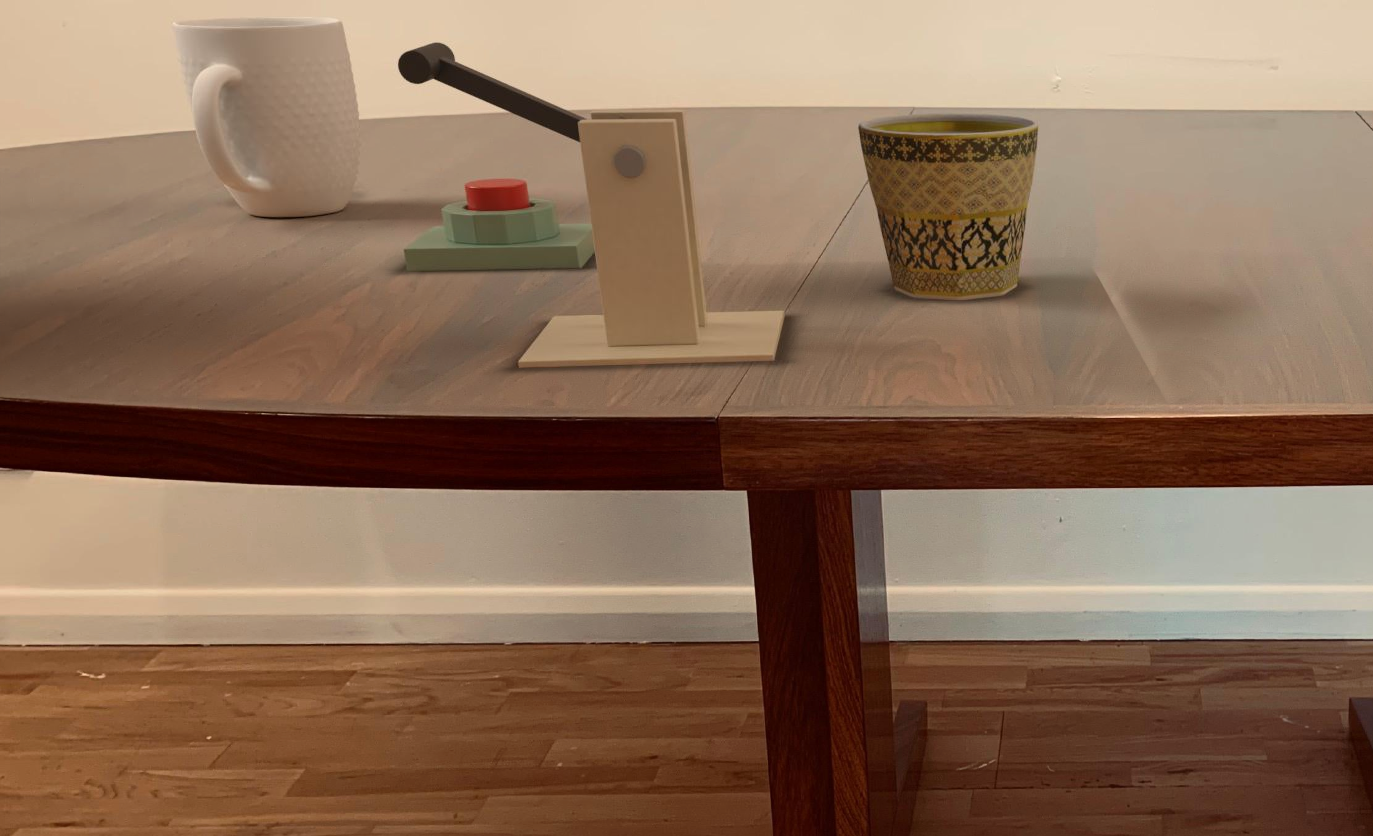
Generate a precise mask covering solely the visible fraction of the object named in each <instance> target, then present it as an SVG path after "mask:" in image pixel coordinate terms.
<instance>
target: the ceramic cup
mask: <svg viewBox="0 0 1373 836" xmlns="http://www.w3.org/2000/svg"><path fill="white" fill-rule="evenodd" d="M1038 132H1039V124H1038V123H1037V122H1036V121H1034V120H1032V119H1028V118H1024V117H1020V116H1011V115H1002V114H990V113H989V114H988V113H956V112H955V113H951V112H950V113H947V112H945V113H916V114H915V113H914V114H899V115H890V116H883V117H882V116H881V117H876V118H871V119H867V120H864V121H862V122H860V123H859V124H858V135H859V141H860V147H861V153H862V158H863V162H864V167H865V172H866V175H867V181H868V184H869V188H870V192H871V195H872V198H873V201H874V205H875V209H876V214H877V218H878V224H879V228H880V232H881V236H882V241H883V245H884V249H885V255H886V257H887V261H888V266H889V271H890V276H891V281H892V284H893V288H894V290H895V291H897V292H900V293H902V294H904V295H907V296H909V297H911V298H914V299H927V300H929V299H930V300H945V301H946V300H947V301H964V300H965V301H967V300H973V299H982V298H991V297H999V296H1004V295H1005V294H1007V293H1009V292H1010V291H1012V290H1014V289H1015V288H1017V287H1018V281H1019V277H1020V276H1019V274H1020V265H1021V258H1022V251H1023V246H1024V245H1023V244H1024V238H1025V230H1026V222H1027V221H1026V220H1027V212H1028V204H1029V201H1030V200H1029V199H1030V195H1031V191H1032V186H1033V182H1034V181H1033V180H1034V172H1035V166H1036V156H1037V149H1038V134H1039V133H1038Z"/></svg>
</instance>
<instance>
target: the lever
mask: <svg viewBox="0 0 1373 836" xmlns="http://www.w3.org/2000/svg"><path fill="white" fill-rule="evenodd" d="M397 68H398V69H397V70H398V71H399V73H400V75H401V77H402V78H403V79H404V80H405V81H407V82H409V83H410V84H414V85H420V84H424V83H427V82H430V81H431V80H435V81H437V82H439V83H442V84H444V85H446V86H449V87H451V88H453V89H456V90H458V91H460V92H462V93H465V94H467V95H470V96H472V97H474V98H476V99H478V100H481V101H483V102H486V103H488V104H490V105H493V106H495V107H497V108H499V109H501V110H504V111H505V112H508V113H511V114H513V115H515V116H518V117H520V118H523V119H525V120H527V121H529V122H532V123H534V124H536V125H539V126H541V127H543V128H544V129H545V128H546V129H548V130H550V131H552V132H554V133H557V134H559V135H561V136H564V137H567V138H569V139H571V140H573V141H575V142H578V143H580V136H579V129H578V122H579V121H581V120H589V119H587V118H586V117H583V116H581V115H579V114H576V113H574V112H572V111H569V110H567V109H565V108H563V107H560V106H558V105H556V104H553V103H551V102H549V101H546V100H545V99H541V98H540V97H537V96H535V95H533V94H531V93H528V92H526V91H524V90H522V89H519V88H517V87H515V86H512V85H510V84H508V83H505V82H503V81H501V80H498V79H497V78H495V77H492V76H489V75H487V74H485V73H483V72H480V71H478V70H476V69H473V68H471V67H469V66H467V65H464V64H462V63H460V62H457V61H456V56H455V54H454V52H453V50H452V49H451V48H450V47H449V46H448V45H447V44H445V43H442V42H432V43H428V44H425V45H422V46H420V47H417V48H416V47H415V48H413V49H410V50H407V51H405V52H403V53H402V54H400V56H399V58H398V60H397ZM618 119H626V118H623V117H619V118H618Z"/></svg>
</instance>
